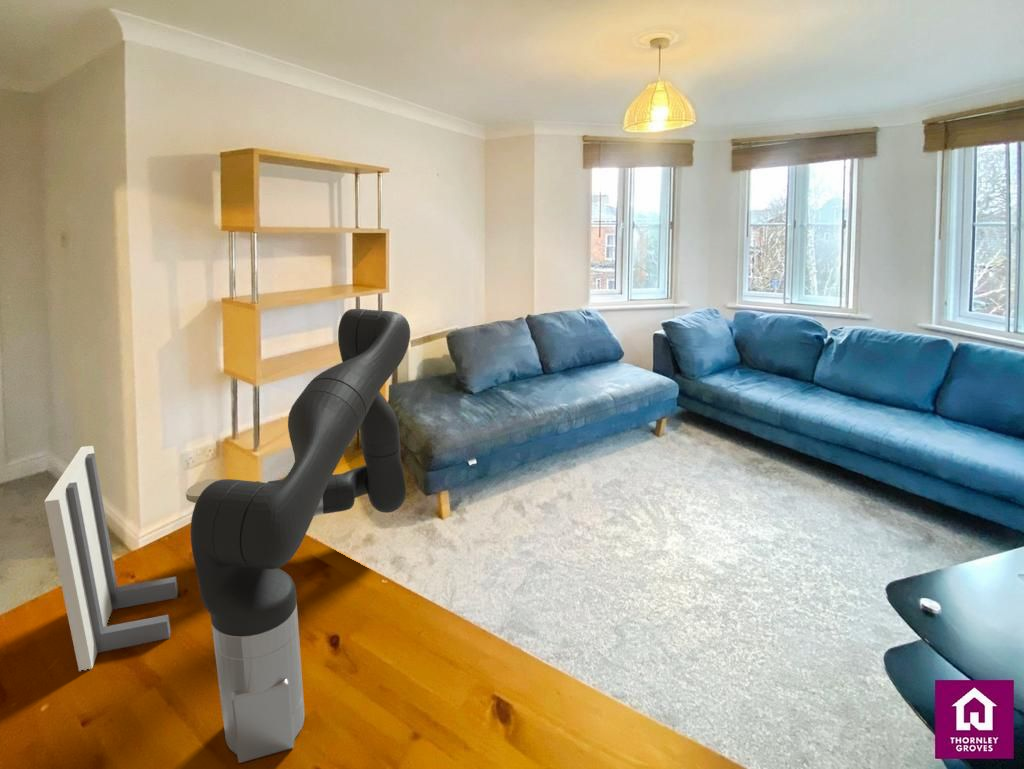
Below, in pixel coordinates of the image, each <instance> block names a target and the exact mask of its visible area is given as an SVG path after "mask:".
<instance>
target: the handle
mask: <svg viewBox="0 0 1024 769" xmlns="http://www.w3.org/2000/svg"><path fill="white" fill-rule="evenodd" d="M219 480H220V479H219V478H208V479H204V480H201V481H198V482H196V483H194V484H192V485H191V486H190V487H189V488H188V489H187V490H186V492H185V498H186V500H187V501H188V502H191V503H194V504H196V502H197V500H198V498H199V496H200V495H201V493H202V492H203V490H204V489H205V488H206V487H208V486H209V485H210V484H212V483H213V482H215V481H219Z"/></svg>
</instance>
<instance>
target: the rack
mask: <svg viewBox="0 0 1024 769" xmlns="http://www.w3.org/2000/svg"><path fill="white" fill-rule="evenodd" d="M96 459H97V458H96V454H95V449H94V445H86V446H81V447H80V448H79V449H78V451H77V452H76V454H75V456H74V457H73V458H72V460H71V462H70V463H69V464H68V466H67V467H66V468H65V470H64V472H63V473H62V474H61V476H60V478H59V479H58V480H57V482H56V483H55V485H54V486H53V488H52V489H51V491H50V492H49V494H48V495H47V497H46V498H45V499H44V505H45V506H44V507H45V511H46V512H45V513H46V517H47V522H48V526H49V532H50V537H51V540H52V541H51V542H52V545H53V546H52V547H53V551H54V556H55V560H56V566H57V571H58V575H59V579H60V580H59V581H60V585H61V590H62V594H63V595H62V596H63V600H64V606H65V609H66V613H67V614H66V615H67V620H68V624H69V628H70V635H71V639H72V643H73V644H72V645H73V647H74V648H73V649H74V653H75V654H74V655H75V658H76V663H77V667H78V672H82V671H81V670H84V671H88V670H87V669H89V670H92V669H93V666H94V664H95V662H96V658H97V655H98V654H99V653H104V652H109V651H113V650H119V649H123V648H124V649H125V648H129V647H134V646H138V645H143V643H144V644H148V642H149V643H153V641H154V642H158V641H157V640H159V641H163V639H164V640H168V639H170V637H171V625H170V617H169V614H164V615H159V616H154V617H149V618H143V619H137V620H133V621H126V622H123V623H117V624H112V625H108V624H109V621H108V620H110V618H109V617H111V614H112V612H113V610H118V608H119V609H122V608H123V609H125V608H128V607H134V606H140V605H145V604H146V605H147V604H150V603H152V604H153V603H156V602H157V603H158V602H161V601H167V600H172V599H173V600H174V599H177V598H178V596H179V595H178V594H179V588H178V582H177V581H178V580H177V576H173V577H172V576H170V577H165V578H160V579H155V580H146V581H142V582H135V583H129V584H125V585H118V583H117V576H116V575H117V574H116V570H115V565H114V564H115V563H114V559H113V553H112V546H111V541H110V535H109V530H108V525H107V524H108V523H107V518H106V512H105V507H104V502H103V494H102V488H101V483H100V477H99V472H98V467H97V460H96ZM107 623H108V624H107Z"/></svg>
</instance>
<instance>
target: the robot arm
mask: <svg viewBox="0 0 1024 769" xmlns="http://www.w3.org/2000/svg"><path fill="white" fill-rule="evenodd" d="M340 318H341V319H340V321H339V324H338V329H337V342H338V343H337V344H338V348H339V354H340V358H341V362H340V363H338V364H336V365H334V366H331V367H329V368H328V369H325V370H324V371H322V372H320V373H319V374H318V375H316V376H315V377H313V379H311V381H310V382H309V383H308V384H307V385H306V386H305V388H304V389H303V391H302V392H301V394H299V396H298V397H297V398H296V400H295V401H294V403H293V404H292V406H291V408H290V410H289V413H288V416H287V418H288V419H287V429H288V434H289V435H288V436H289V440H290V443H291V446H292V450H293V456H294V463H293V465H292V467H291V468H290V470H289V472H288V474H287V475H286V476H285V477H284V478H283V479H276V480H269V481H267V482H263V481H262V482H261V481H256V480H255V481H252V480H243V479H231V478H229V479H228V478H225V479H219V481H215V482H213V483H212V484H210V485H209V486H208V487H206V488H205V489H204V490H203V492H202V493H201V495H200V496H199V498H198V500H197V502H196V503H194V507H193V510H192V514H191V515H192V516H191V521H190V545H191V551H192V557H193V562H194V567H195V573H196V576H197V582H198V588H199V592H200V597H201V598H200V599H201V602H202V604H203V606H204V608H205V609H206V611H207V612H208V613H209V615H210V622H211V629H212V630H211V631H212V638H213V647H214V648H213V649H214V656H215V663H216V670H217V671H216V672H217V681H218V688H219V689H218V690H219V697H220V705H221V715H222V720H223V721H222V722H223V728H224V735H225V736H224V737H225V742H226V745H227V747H228V748H229V749H230V751H231V752H233V753H234V754H235V755H237V762H238V763H239V764H240V763H244V762H248V761H251V760H255V759H259V758H262V757H265V756H270V755H272V754H276V753H280V752H283V751H286V750H290V749H293V748H294V747H295V740H296V738H297V736H298V735H299V733H300V732H301V730H302V728H303V726H304V723H305V702H304V701H305V699H304V688H303V674H302V672H303V671H302V659H301V646H300V632H299V630H300V629H299V616H298V605H297V604H298V603H297V602H298V601H297V591H296V584H295V581H294V580H293V578H292V577H291V575H290V574H288V573H287V572H286V571H284V569H283V570H282V569H281V568H282V567H284V566H285V565H286V564H287V563H289V561H290V560H291V559H292V558H294V556H295V554H296V553H297V551H298V550H299V548H300V546H301V544H302V542H303V540H304V539H305V536H306V534H307V533H308V530H309V527H310V525H311V524H312V521H313V519H314V517H316V516H319V515H326V514H332V513H339V512H346V511H349V510H351V509H352V508H354V507H353V506H354V505H355V502H356V501H355V499H356V498H359V497H362V496H364V495H368V496H367V497H368V499H369V503H370V505H371V506H372V507H373V508H374V509H375V510H376V511H379V512H381V513H387V514H389V513H393V512H395V511H397V510H398V509H400V508H401V507H402V506H403V504H404V502H405V500H406V497H407V486H406V485H407V484H406V479H405V473H404V468H403V463H402V458H401V438H400V437H401V436H400V425H399V421H398V417H397V415H396V413H395V411H394V409H393V408H392V406H391V405H390V403H389V402H388V400H387V399H386V398H385V397H384V395H383V394H382V392H381V390H382V388H383V386H385V384H386V383H387V382H388V380H389V379H390V377H392V375H393V374H394V372H395V371H396V370H397V368H398V367H399V366H400V364H401V362H403V359H404V358H405V356H406V354H407V352H408V351H407V350H408V348H409V344H410V340H411V329H410V328H411V327H410V324H409V322H408V320H407V319H406V317H405V316H404V315H403V314H400V313H398V312H395V311H389V310H377V309H366V308H365V309H364V308H351V309H348V310H346V311H345V312H344V313H343V314H342V316H341V317H340ZM358 430H359V431H360V442H361V452H362V456H363V459H364V463H365V465H361V466H359V467H356V468H353V469H350V470H347V471H346V472H343V473H338V474H337V473H336V474H335V473H334V472H335V471H336V468H337V467H338V464H340V461H341V459H342V458H343V456H344V454H345V452H346V450H347V449H348V447H349V446H350V444H351V442H352V441H353V439H354V438H355V436H356V434H357V432H358Z"/></svg>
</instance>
